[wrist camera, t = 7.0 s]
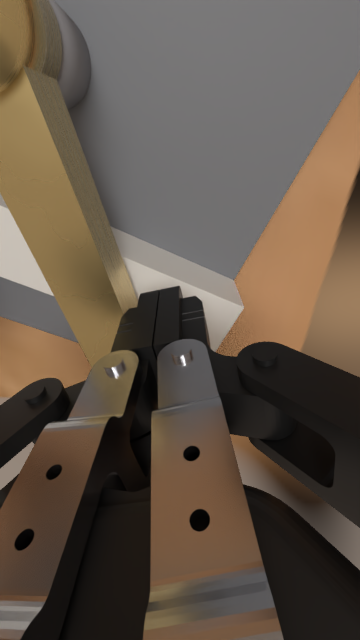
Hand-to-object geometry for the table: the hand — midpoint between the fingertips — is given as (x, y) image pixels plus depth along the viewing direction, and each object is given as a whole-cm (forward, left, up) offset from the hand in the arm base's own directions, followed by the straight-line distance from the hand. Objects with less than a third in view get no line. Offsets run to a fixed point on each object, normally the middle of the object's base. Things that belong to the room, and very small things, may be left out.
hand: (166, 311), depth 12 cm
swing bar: (-4, +2, -2) cm, 5 cm away
